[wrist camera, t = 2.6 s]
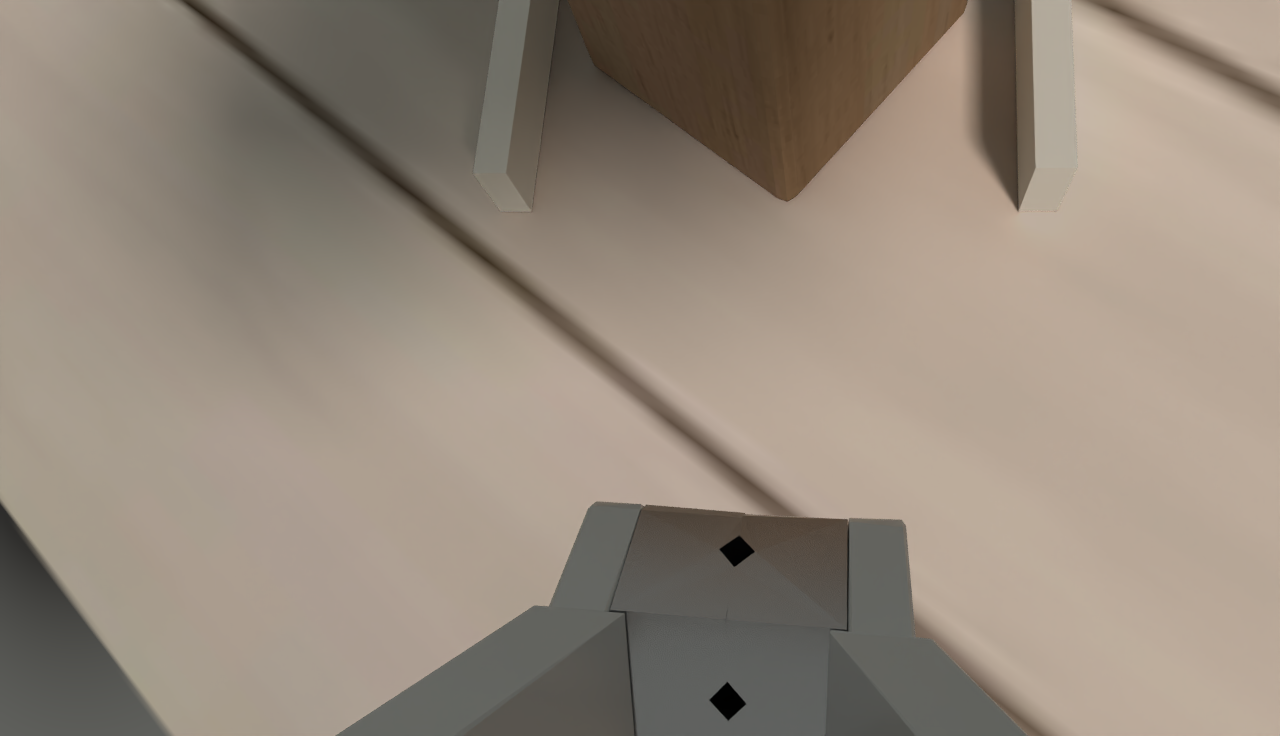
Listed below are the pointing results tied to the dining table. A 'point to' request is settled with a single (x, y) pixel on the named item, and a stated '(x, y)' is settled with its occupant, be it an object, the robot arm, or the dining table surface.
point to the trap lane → (526, 70)
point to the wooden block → (764, 70)
